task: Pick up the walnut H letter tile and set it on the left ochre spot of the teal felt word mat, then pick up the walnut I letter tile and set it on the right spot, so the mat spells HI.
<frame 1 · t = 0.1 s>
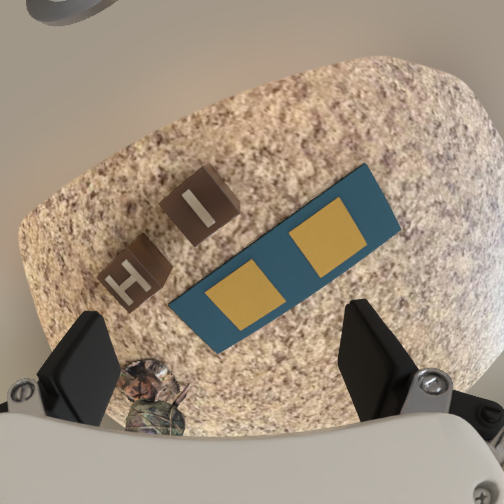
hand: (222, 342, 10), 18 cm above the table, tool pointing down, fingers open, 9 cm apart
tile I: (205, 198, 26), on the table
word mat: (286, 267, 29), on the table
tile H: (142, 262, 28), on the table
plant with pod: (154, 379, 34), on the table
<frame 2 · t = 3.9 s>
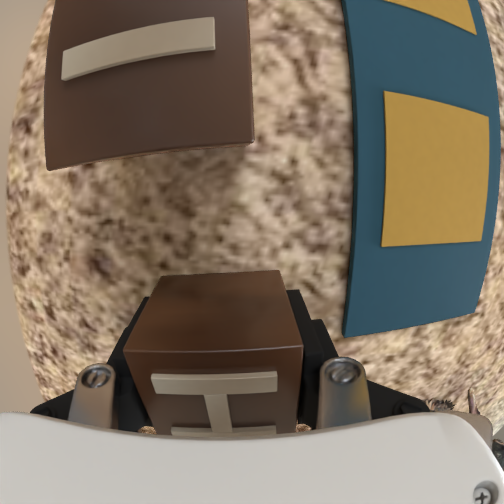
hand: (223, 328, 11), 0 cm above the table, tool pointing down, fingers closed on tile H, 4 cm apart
tile I: (178, 88, 9), on the table
word mat: (432, 58, 8), on the table
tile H: (224, 323, 12), on the table, touching gripper
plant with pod: (409, 425, 16), on the table
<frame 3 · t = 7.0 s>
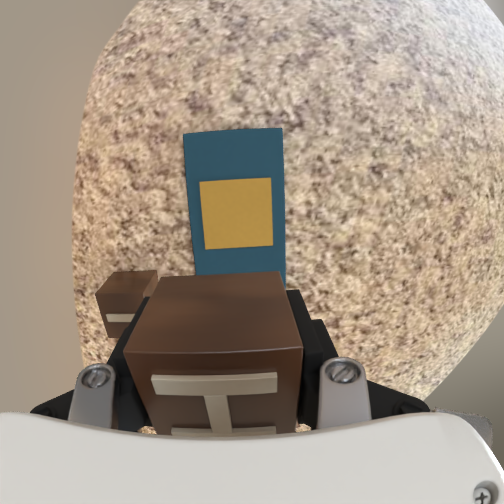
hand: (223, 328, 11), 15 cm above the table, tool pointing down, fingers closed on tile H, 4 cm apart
tile I: (138, 292, 27), on the table
word mat: (240, 267, 26), on the table
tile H: (224, 323, 12), point 14 cm above the table, touching gripper
when the fingers open (1 cm above the table, at t = 10.5 s): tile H stays where it is, resting on word mat.
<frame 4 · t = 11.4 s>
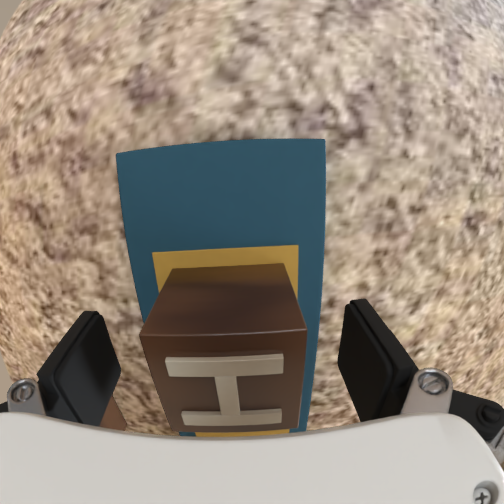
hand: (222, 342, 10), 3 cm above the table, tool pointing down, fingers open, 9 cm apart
tile I: (87, 398, 15), on the table
word mat: (237, 386, 15), on the table
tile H: (231, 314, 12), resting on word mat
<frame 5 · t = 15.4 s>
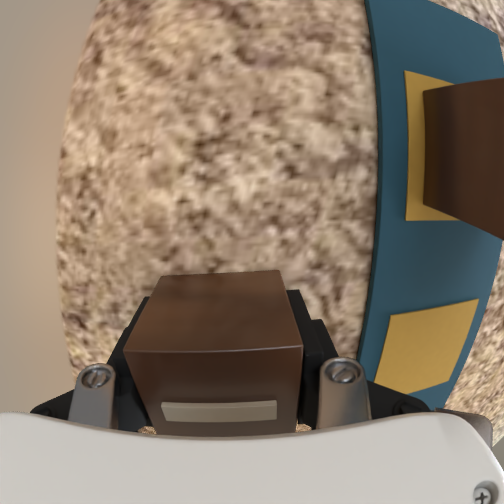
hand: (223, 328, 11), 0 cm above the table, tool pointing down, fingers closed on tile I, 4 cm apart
tile I: (224, 323, 12), on the table, touching gripper
word mat: (444, 262, 11), on the table
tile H: (463, 153, 9), resting on word mat
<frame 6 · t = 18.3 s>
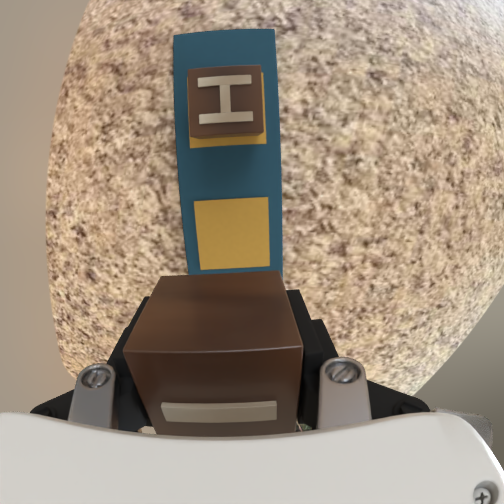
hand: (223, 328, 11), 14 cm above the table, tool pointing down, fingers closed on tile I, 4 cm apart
tile I: (224, 323, 12), point 13 cm above the table, touching gripper
word mat: (229, 171, 22), on the table
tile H: (227, 108, 20), resting on word mat
when the fingers open (1 cm above the table, at t = 21.5 s): tile I stays where it is, resting on word mat.
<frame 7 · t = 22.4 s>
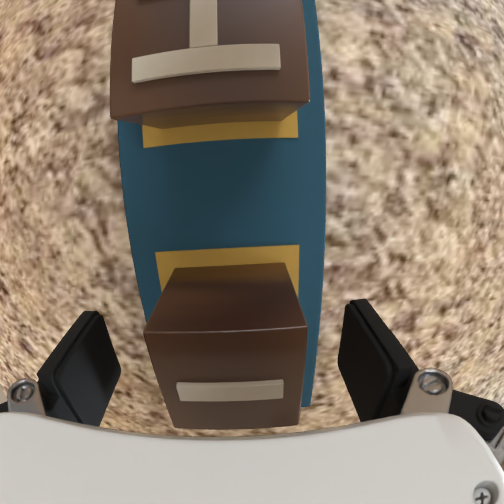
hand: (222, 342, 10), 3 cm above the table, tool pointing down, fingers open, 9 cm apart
tile I: (232, 312, 13), resting on word mat
word mat: (222, 193, 11), on the table
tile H: (218, 67, 9), resting on word mat
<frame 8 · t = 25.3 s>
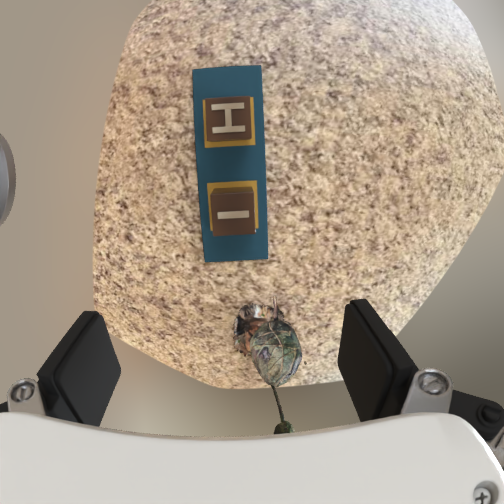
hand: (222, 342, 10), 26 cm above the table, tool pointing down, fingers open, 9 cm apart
tile I: (233, 206, 35), resting on word mat
word mat: (231, 163, 33), on the table
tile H: (229, 122, 31), resting on word mat
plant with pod: (262, 323, 41), on the table
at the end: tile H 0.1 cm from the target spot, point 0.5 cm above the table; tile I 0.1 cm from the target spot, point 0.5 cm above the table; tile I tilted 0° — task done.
